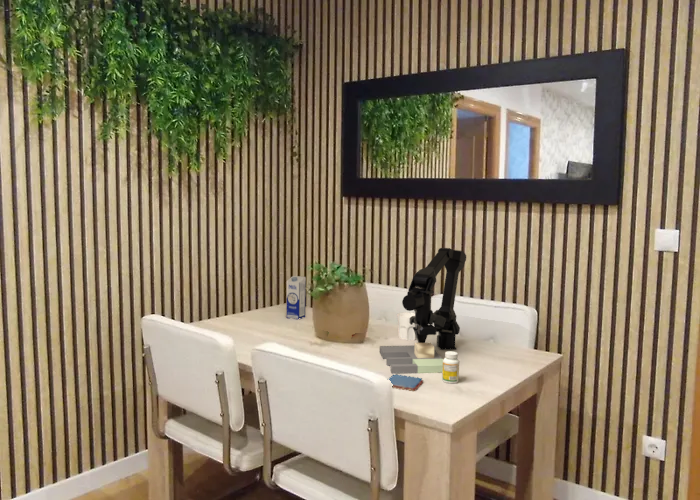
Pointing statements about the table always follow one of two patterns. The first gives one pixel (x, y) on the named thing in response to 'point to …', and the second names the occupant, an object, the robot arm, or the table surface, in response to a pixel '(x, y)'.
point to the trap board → (410, 360)
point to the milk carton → (296, 297)
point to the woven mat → (405, 382)
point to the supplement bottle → (450, 368)
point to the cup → (406, 326)
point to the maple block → (424, 350)
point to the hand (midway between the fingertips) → (421, 347)
